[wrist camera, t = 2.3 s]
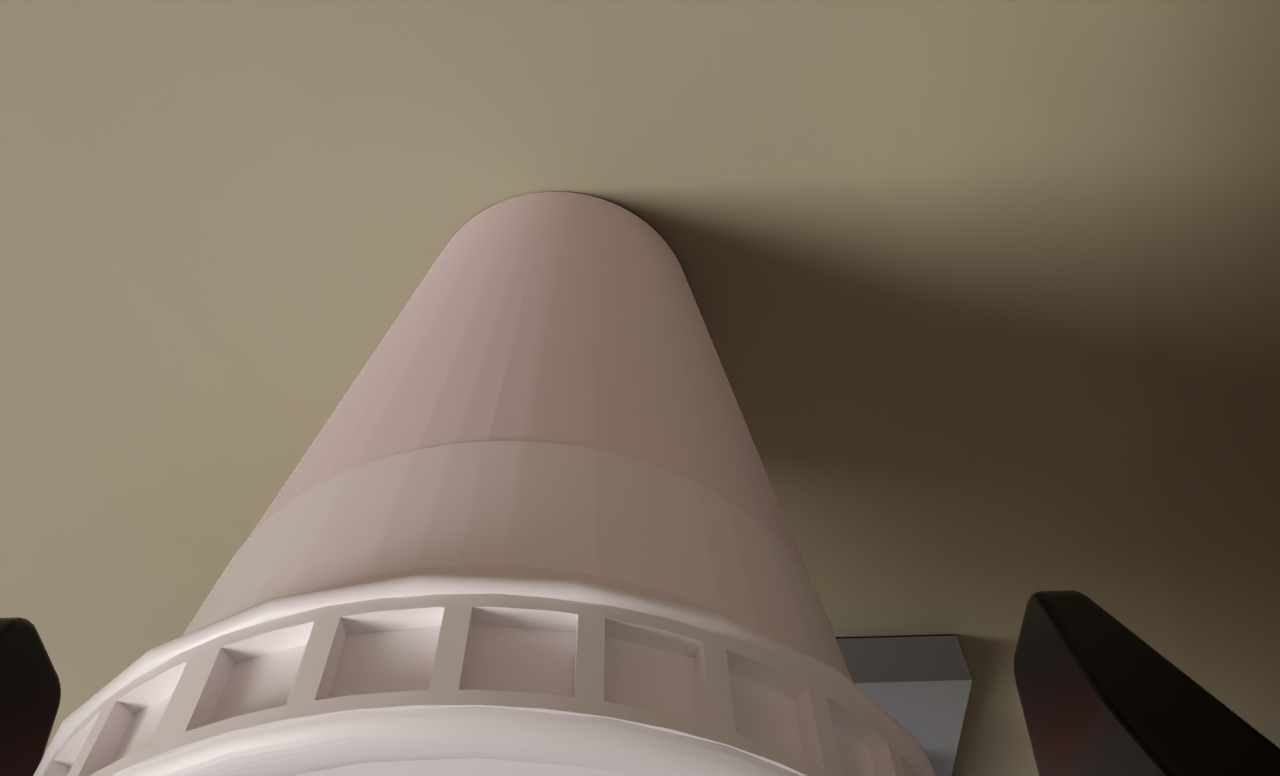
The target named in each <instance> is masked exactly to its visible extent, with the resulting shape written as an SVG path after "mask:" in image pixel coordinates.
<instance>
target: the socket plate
mask: <svg viewBox="0 0 1280 776" xmlns="http://www.w3.org/2000/svg"><path fill="white" fill-rule="evenodd" d="M836 640H837V643H838V645H839V648H840V650H841V653H842V656H843V658H844V661H845V663H846V666H847V669H848V671H849V674H850V676H851V679H852V681H853V683H854V684H855V685H856V686H857V687H858V688H859V689H860V690H862V691H863V692H864V693H865V694H866V695H867V696H868V697H870V698H871V699H872V700H873V701H874V702H875V703H876V704H878V705H879V706H880V707H881V708H882V709H883V710H884V711H885V712H887V713H888V714H889V715H890V716H891V717H892V718H893V719H895V720H896V721H897V722H898V723H899V724H900V725H901V726H903V727H904V728H905V729H906V730H907V731H908V732H909V733H911V734H912V735H913V736H914V737H915V738H916V739H917V740H918V741H919V743H920V744H921V746H922V748H923V750H924V752H925V754H926V756H927V757H928V759H929V761H930V763H931V765H932V767H933V769H934V770H935V772H936V774H937V776H951V775H952V771H953V766H954V762H955V757H956V752H957V748H958V743H959V739H960V734H961V730H962V725H963V721H964V716H965V712H966V707H967V702H968V698H969V693H970V689H971V684H972V677H971V675H970V672H969V669H968V667H967V664H966V661H965V659H964V656H963V653H962V650H961V648H960V645H959V642H958V640H957V637H956V636H922V637H885V638H847V639H836Z"/></svg>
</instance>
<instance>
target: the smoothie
mask: <svg viewBox="0 0 1280 776" xmlns="http://www.w3.org/2000/svg"><path fill="white" fill-rule="evenodd" d="M33 776H937V774H936V772H935V770H934V769H933V767H932V765H931V763H930V761H929V759H928V757H927V756H926V754H925V752H924V750H923V748H922V746H921V744H920V743H919V741H918V740H917V739H916V738H915V737H914V736H913V735H912V734H911V733H909V732H908V731H907V730H906V729H905V728H904V727H903V726H901V725H900V724H899V723H898V722H897V721H896V720H895V719H893V718H892V717H891V716H890V715H889V714H888V713H887V712H885V711H884V710H883V709H882V708H881V707H880V706H879V705H878V704H876V703H875V702H874V701H873V700H872V699H871V698H870V697H868V696H867V695H866V694H865V693H864V692H863V691H862V690H860V689H859V688H858V687H857V686H856V685H855V684H854V683H853V681H852V679H851V676H850V674H849V671H848V669H847V666H846V663H845V661H844V658H843V656H842V653H841V650H840V648H839V645H838V643H837V640H836V638H835V635H834V632H833V630H832V627H831V625H830V622H829V620H828V617H827V615H826V612H825V610H824V608H823V605H822V603H821V600H820V598H819V596H818V594H817V592H816V591H815V589H814V587H813V585H812V583H811V580H810V578H809V575H808V573H807V571H806V568H805V566H804V563H803V561H802V558H801V556H800V554H799V551H798V549H797V546H796V544H795V541H794V539H793V537H792V534H791V532H790V529H789V527H788V524H787V522H786V520H785V517H784V515H783V512H782V510H781V507H780V505H779V503H778V500H777V498H776V495H775V493H774V490H773V488H772V486H771V483H770V481H769V478H768V476H767V473H766V471H765V469H764V466H763V464H762V461H761V459H760V456H759V454H758V452H757V449H756V447H755V444H754V442H753V439H752V437H751V435H750V432H749V430H748V427H747V425H746V422H745V420H744V418H743V415H742V413H741V410H740V408H739V406H738V403H737V401H736V398H735V396H734V393H733V391H732V389H731V386H730V384H729V381H728V379H727V376H726V374H725V372H724V369H723V367H722V364H721V362H720V359H719V357H718V355H717V352H716V350H715V347H714V345H713V342H712V340H711V338H710V335H709V333H708V330H707V328H706V325H705V323H704V321H703V318H702V316H701V313H700V311H699V308H698V306H697V304H696V301H695V299H694V296H693V294H692V291H691V289H690V287H689V284H688V282H687V279H686V277H685V275H684V272H683V270H682V267H681V265H680V263H679V261H678V260H677V258H676V256H675V254H674V253H673V251H672V250H671V248H670V247H669V246H668V244H667V243H666V242H665V241H664V239H663V238H662V237H661V236H660V235H659V234H658V233H657V232H656V231H655V230H654V229H653V228H652V227H651V226H650V225H648V224H647V223H646V222H644V221H643V220H642V219H641V218H639V217H638V216H636V215H635V214H633V213H631V212H630V211H628V210H626V209H624V208H622V207H620V206H618V205H616V204H614V203H611V202H609V201H606V200H604V199H600V198H597V197H593V196H589V195H584V194H579V193H570V192H540V193H532V194H527V195H522V196H518V197H515V198H511V199H508V200H506V201H503V202H500V203H498V204H496V205H494V206H492V207H490V208H488V209H486V210H484V211H483V212H481V213H480V214H478V215H476V216H475V217H473V218H472V219H471V220H470V221H469V222H467V223H466V224H465V225H464V226H463V227H462V228H461V229H460V230H459V231H458V232H457V233H456V234H455V235H454V236H453V237H452V239H451V240H450V241H449V242H448V244H447V245H446V247H445V248H444V250H443V251H442V252H441V254H440V255H439V257H438V258H437V260H436V261H435V263H434V264H433V266H432V267H431V269H430V270H429V272H428V273H427V275H426V276H425V278H424V279H423V281H422V282H421V283H420V285H419V286H418V288H417V289H416V291H415V292H414V294H413V295H412V297H411V298H410V300H409V301H408V303H407V304H406V306H405V307H404V309H403V310H402V312H401V313H400V314H399V316H398V317H397V319H396V320H395V322H394V323H393V325H392V326H391V328H390V329H389V331H388V332H387V334H386V335H385V337H384V338H383V340H382V341H381V343H380V344H379V345H378V347H377V348H376V350H375V351H374V353H373V354H372V356H371V357H370V359H369V360H368V362H367V363H366V365H365V366H364V368H363V369H362V371H361V372H360V374H359V375H358V377H357V378H356V379H355V381H354V382H353V384H352V385H351V387H350V388H349V390H348V391H347V393H346V394H345V396H344V397H343V399H342V400H341V402H340V403H339V405H338V406H337V408H336V409H335V410H334V412H333V413H332V415H331V416H330V418H329V419H328V421H327V422H326V424H325V425H324V427H323V428H322V430H321V431H320V433H319V434H318V436H317V437H316V439H315V440H314V441H313V443H312V444H311V446H310V447H309V449H308V450H307V452H306V453H305V455H304V456H303V458H302V459H301V461H300V462H299V464H298V465H297V467H296V468H295V470H294V471H293V472H292V474H291V475H290V477H289V478H288V480H287V481H286V483H285V484H284V486H283V487H282V489H281V490H280V492H279V493H278V495H277V496H276V498H275V499H274V501H273V502H272V503H271V505H270V506H269V508H268V509H267V511H266V512H265V514H264V515H263V517H262V518H261V520H260V521H259V523H258V524H257V526H256V527H255V529H254V530H253V532H252V533H251V534H250V536H249V537H248V539H247V540H246V542H245V543H244V544H243V545H242V547H241V548H240V549H239V550H238V551H237V553H236V554H235V555H234V556H233V558H232V559H231V561H230V563H229V564H228V566H227V567H226V569H225V570H224V572H223V573H222V575H221V576H220V578H219V580H218V581H217V583H216V584H215V586H214V587H213V589H212V590H211V592H210V593H209V595H208V597H207V598H206V600H205V601H204V603H203V604H202V606H201V607H200V609H199V610H198V612H197V614H196V615H195V617H194V618H193V620H192V621H191V623H190V624H189V626H188V628H187V629H186V631H185V632H184V634H183V635H182V636H180V637H178V638H176V639H173V640H171V641H168V642H166V643H164V644H161V645H159V646H156V647H154V648H152V649H150V650H148V651H147V652H146V653H145V654H143V655H142V656H141V657H140V658H139V659H137V660H136V661H135V662H134V663H132V664H131V665H130V666H129V667H128V668H126V669H125V670H124V671H123V672H121V673H120V674H119V675H118V676H117V677H115V678H114V679H113V680H112V681H110V682H109V683H108V684H107V685H105V686H104V687H103V688H102V689H101V690H99V691H98V692H97V693H96V694H94V695H93V696H92V697H91V698H90V699H88V700H87V701H86V702H85V703H83V704H82V705H81V706H80V707H79V708H77V709H76V710H75V711H74V712H72V713H71V714H70V715H69V716H68V717H66V718H65V719H64V720H63V722H62V723H61V725H60V727H59V729H58V731H57V733H56V734H55V736H54V738H53V740H52V742H51V744H50V746H49V747H48V749H47V751H46V753H45V755H44V757H43V758H42V760H41V762H40V764H39V766H38V768H37V769H36V771H35V773H34V775H33Z"/></svg>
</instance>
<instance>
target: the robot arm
mask: <svg viewBox="0 0 1280 776" xmlns="http://www.w3.org/2000/svg"><path fill="white" fill-rule="evenodd" d="M1014 673H1015V680H1016V685H1017V689H1018V693H1019V697H1020V701H1021V704H1022V708H1023V712H1024V716H1025V720H1026V724H1027V728H1028V732H1029V736H1030V740H1031V744H1032V748H1033V752H1034V756H1035V760H1036V764H1037V768H1038V772H1039V776H1280V748H1278V747H1277V746H1276V745H1275V744H1273V743H1272V742H1271V741H1269V740H1268V739H1267V738H1266V737H1264V736H1263V735H1262V734H1261V733H1259V732H1258V731H1257V730H1256V729H1254V728H1253V727H1252V726H1250V725H1249V724H1248V723H1247V722H1245V721H1244V720H1243V719H1242V718H1240V717H1239V716H1238V715H1237V714H1235V713H1234V712H1233V711H1231V710H1230V709H1229V708H1228V707H1226V706H1225V705H1224V704H1223V703H1221V702H1220V701H1219V700H1218V699H1216V698H1215V697H1214V696H1212V695H1211V694H1210V693H1209V692H1207V691H1206V690H1205V689H1204V688H1202V687H1201V686H1200V685H1199V684H1197V683H1196V682H1195V681H1193V680H1192V679H1191V678H1190V677H1188V676H1187V675H1186V674H1185V673H1183V672H1182V671H1181V670H1180V669H1178V668H1177V667H1176V666H1174V665H1173V664H1172V663H1171V662H1169V661H1168V660H1167V659H1166V658H1164V657H1163V656H1162V655H1161V654H1159V653H1158V652H1157V651H1155V650H1154V649H1153V648H1152V647H1150V646H1149V645H1148V644H1147V643H1145V642H1144V641H1143V640H1142V639H1140V638H1139V637H1138V636H1136V635H1135V634H1134V633H1133V632H1131V631H1130V630H1129V629H1128V628H1126V627H1125V626H1124V625H1122V624H1121V623H1120V622H1119V621H1117V620H1116V619H1115V618H1114V617H1112V616H1111V615H1110V614H1109V613H1107V612H1106V611H1105V610H1103V609H1102V608H1101V607H1100V606H1098V605H1097V604H1096V603H1095V602H1093V601H1092V600H1091V599H1090V598H1088V597H1087V596H1085V595H1084V594H1082V593H1080V592H1077V591H1040V592H1037V593H1034V594H1033V595H1032V596H1031V597H1030V599H1029V601H1028V603H1027V607H1026V611H1025V615H1024V619H1023V623H1022V627H1021V631H1020V635H1019V639H1018V643H1017V647H1016V651H1015V657H1014ZM60 697H61V688H60V682H59V678H58V675H57V673H56V671H55V669H54V667H53V665H52V662H51V660H50V658H49V656H48V654H47V652H46V649H45V647H44V645H43V643H42V641H41V638H40V636H39V634H38V632H37V630H36V628H35V626H34V625H33V624H32V623H31V622H30V621H28V620H27V619H23V618H0V776H33V775H34V773H35V771H36V769H37V768H38V766H39V764H40V762H41V760H42V757H43V754H44V751H45V748H46V745H47V742H48V739H49V736H50V733H51V730H52V727H53V724H54V720H55V717H56V714H57V711H58V708H59V704H60Z"/></svg>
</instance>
